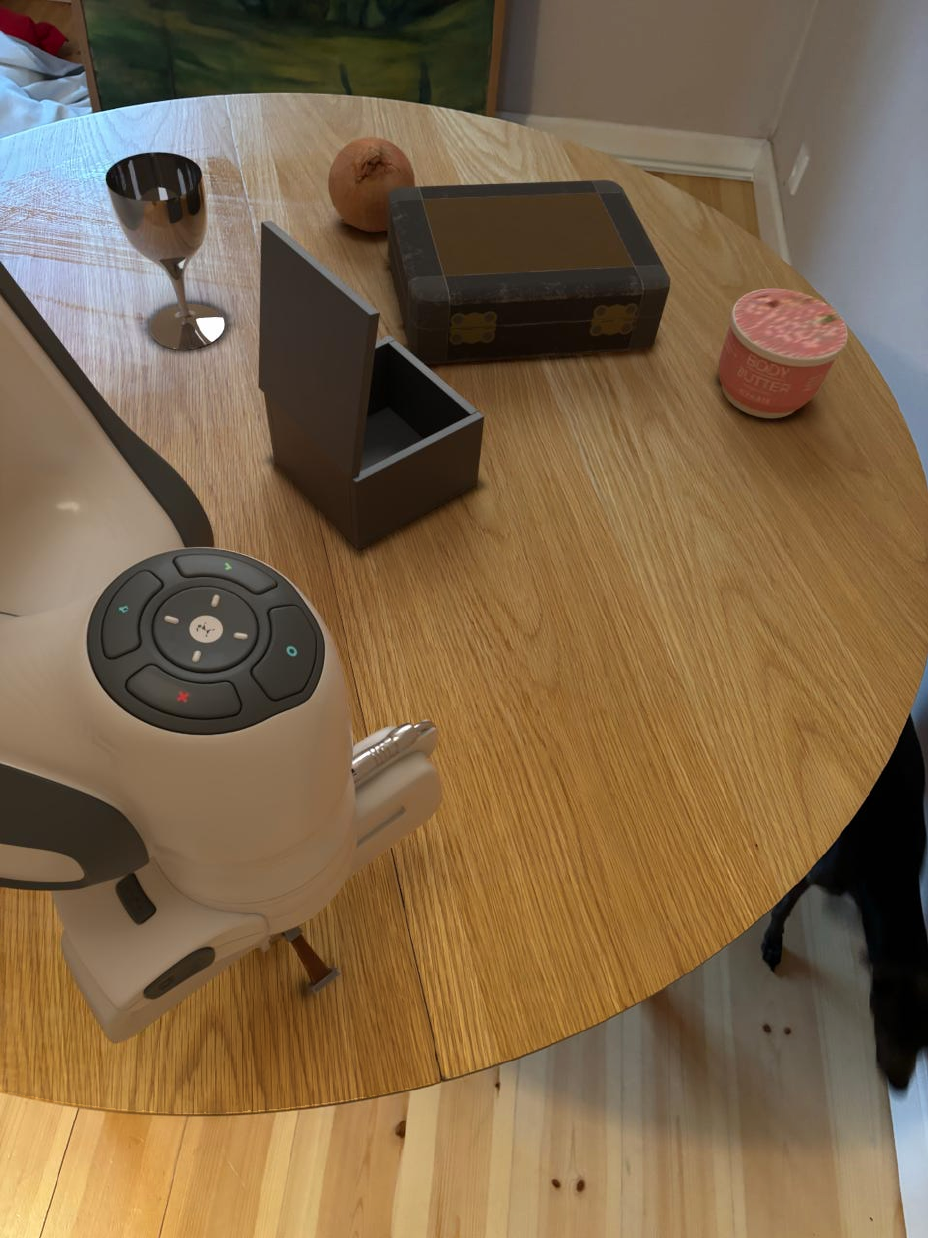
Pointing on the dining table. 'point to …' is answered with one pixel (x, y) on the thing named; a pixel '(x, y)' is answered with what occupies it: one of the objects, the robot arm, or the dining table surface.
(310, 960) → the wooden post with brackets
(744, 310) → the container
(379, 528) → the box
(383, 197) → the onion
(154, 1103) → the dining table surface
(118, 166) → the wine glass
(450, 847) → the dining table surface
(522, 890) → the dining table surface
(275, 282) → the lid
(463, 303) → the jewelry box
